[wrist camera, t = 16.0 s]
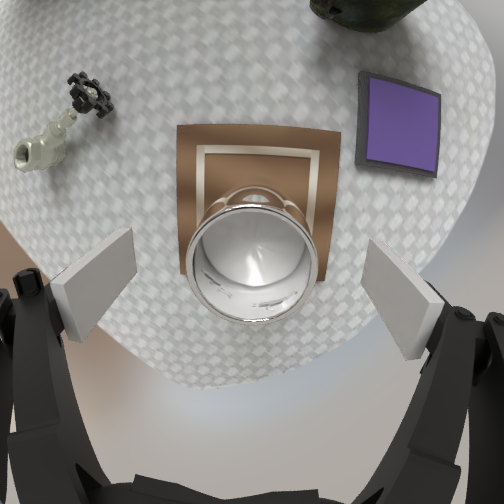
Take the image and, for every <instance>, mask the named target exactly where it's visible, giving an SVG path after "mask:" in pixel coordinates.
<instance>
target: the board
mask: <svg viewBox="0 0 504 504" xmlns="http://www.w3.org/2000/svg"><path fill="white" fill-rule="evenodd" d="M340 143H341V132H335V131H327V130H319V129H310V128H299V127H287V126H272V125H251V124H193V125H177V158H176V172H177V219H178V241H179V258H180V272H181V274H187V273H186V254H187V249H188V246H189V243H190V241H191V239H192V237H193V235H194V234H195V231H196V229H197V227H198V225H199V223H200V221H201V219H202V217H203V216H204V214H205V212H206V211H207V209H208V208H209V207H210V206H211V204H212V203H213V202H214V201H215V200H216V199H217V198H219V197H220V196H221V195H222V194H223V193H225V192H227V191H228V190H230V188H231V187H232V186H233V185H234V184H235V183H236V182H237V181H238V180H240V179H242V178H244V177H246V176H250V175H262V176H266V177H269V178H271V179H273V180H274V181H276V182H277V183H278V184H279V185H280V186H281V187H282V189H283V190H284V192H285V194H286V195H287V196H289V197H290V198H291V199H292V200H293V201H294V203H295V204H296V205H297V206H298V208H299V209H300V210H301V212H302V214H303V215H304V217H305V219H306V222H307V224H308V226H309V229H310V232H311V236H312V239H313V243H314V245H315V248H316V251H317V256H318V274H317V279H316V281H324V280H325V274H326V268H327V262H328V255H329V248H330V241H331V234H332V226H333V218H334V209H335V200H336V191H337V181H338V169H339V157H340Z"/></svg>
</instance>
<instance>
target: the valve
mask: <svg viewBox="0 0 504 504" xmlns="http://www.w3.org/2000/svg"><path fill="white" fill-rule="evenodd" d="M67 82H68V84H69V85H71V84H72V83H73V82H74V83H75V85H74V86H73V87H72V89H71V90H70V92H69V93H70V95H71V96H72V98H73V99H74V101H73V102H72V106H73V108H72V109H66V110H65V111H64V112H63V114H62V115H61V116H60V117H59V122H51V123H49V124H48V125H47V127H46V128H45V129H44V133H43V134H44V135H39V136H36V137H34V138H33V139H32V138H25V139H21V140H20V142H19V143H18V144H17V146H16V148H15V150H14V163H15V167H16V168H17V169H18V170H20V171H22V172H24V173H25V172H29V171H33V170H44V169H46V168H48V167H49V166H55V165H58V164H59V163H60V162H61V161H62V159H63V158H64V157H65V156H66V143H65V139H66V137H67V134H66V128H70V127H71V126H72V125H73V124H74V123H75V122H76V121H77V114H78V113H83V114H86V113H88V112H90V111H91V110H92V109H93V108H94V109H97V110H99V112H98V113H97V114H96V115H97V116H98V117H99V118H100V119H102V118H103V117H104V116H106V115H107V114H109V113H110V112H111V111H112V110H113V109H114V105H113V104H112V103H111V102H108V101H107V99H109V98H110V95H109V93H108V92H107V91H102V90H101V89H100V88H99V82H98V81H97V80H96V79H93V80H92V81H91V80H89V79H88V76H87V74H86V73H85V72H80V73H79V74H76V73H74V74H73V75H72V76H71V77H70V78H69V79H68V80H67ZM83 85H85V86H87V88H86V89H84V87H83ZM99 101H100V102H99Z"/></svg>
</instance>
